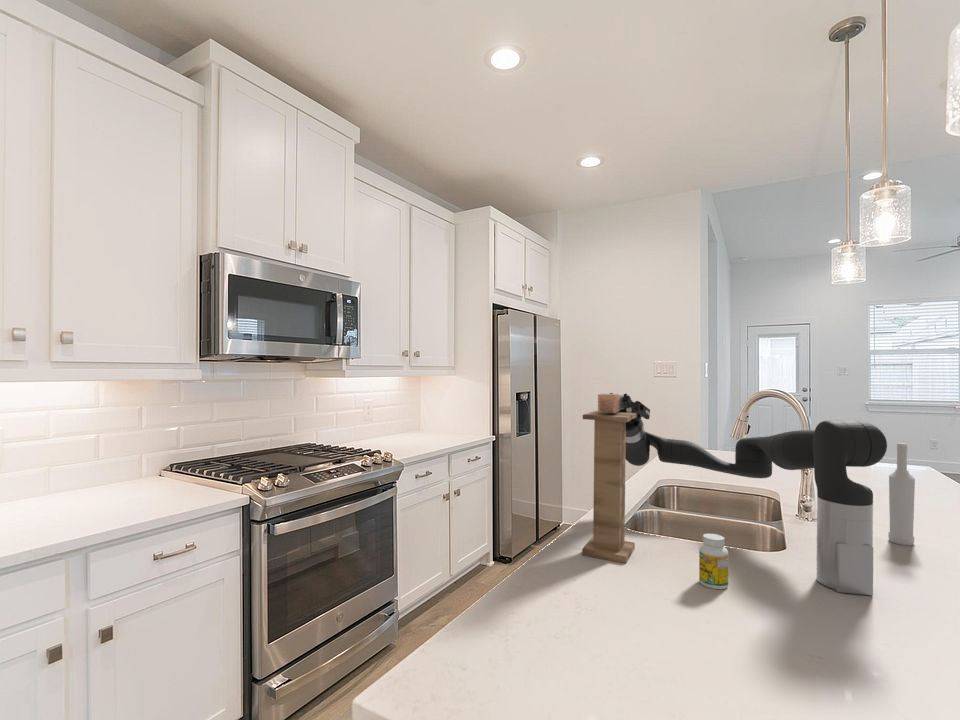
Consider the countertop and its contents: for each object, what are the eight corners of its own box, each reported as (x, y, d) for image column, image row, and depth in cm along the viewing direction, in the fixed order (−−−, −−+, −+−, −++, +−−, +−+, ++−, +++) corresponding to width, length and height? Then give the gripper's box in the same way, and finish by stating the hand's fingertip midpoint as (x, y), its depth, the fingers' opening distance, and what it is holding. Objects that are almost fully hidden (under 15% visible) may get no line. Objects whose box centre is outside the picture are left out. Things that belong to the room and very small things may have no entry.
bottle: (904, 539, 131) (905, 442, 131) (920, 546, 126) (920, 445, 126) (883, 538, 131) (884, 441, 132) (897, 545, 126) (898, 444, 126)
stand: (594, 540, 127) (595, 410, 127) (635, 547, 122) (636, 412, 123) (581, 556, 116) (582, 414, 116) (625, 564, 112) (627, 417, 112)
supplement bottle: (734, 588, 101) (734, 539, 101) (712, 591, 99) (712, 542, 99) (714, 577, 106) (714, 531, 106) (693, 580, 104) (693, 533, 104)
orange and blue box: (614, 406, 133) (614, 391, 133) (630, 407, 131) (630, 391, 131) (597, 411, 117) (598, 394, 117) (615, 412, 115) (615, 395, 115)
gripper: (654, 439, 135) (645, 411, 122) (601, 435, 141) (587, 408, 128) (656, 414, 138) (648, 384, 125) (604, 411, 145) (591, 382, 131)
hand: (617, 396), depth 127 cm, fingers closed on orange and blue box, 3 cm apart
